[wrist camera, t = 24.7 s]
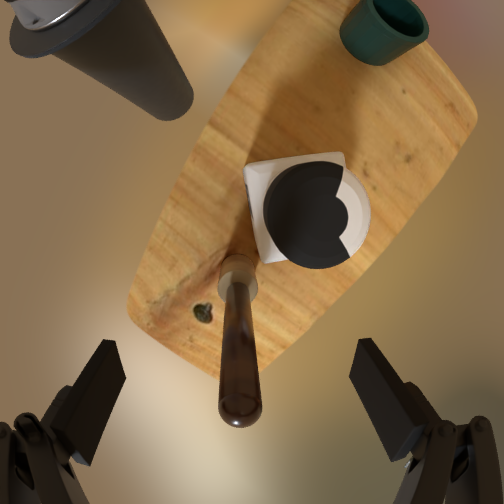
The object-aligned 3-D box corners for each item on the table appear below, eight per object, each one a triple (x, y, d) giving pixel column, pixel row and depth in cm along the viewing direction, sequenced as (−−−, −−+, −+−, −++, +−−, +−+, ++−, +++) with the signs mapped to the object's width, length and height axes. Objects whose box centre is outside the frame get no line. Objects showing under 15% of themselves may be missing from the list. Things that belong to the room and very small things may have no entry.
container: (255, 241, 29) (269, 294, 16) (241, 167, 27) (246, 159, 14) (327, 229, 29) (387, 268, 16) (316, 156, 27) (377, 145, 14)
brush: (214, 264, 29) (181, 412, 10) (243, 247, 29) (257, 384, 10) (231, 291, 30) (227, 451, 11) (260, 276, 30) (295, 428, 10)
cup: (327, 23, 22) (351, -12, 14) (372, 14, 22) (401, -15, 14) (361, 72, 24) (396, 47, 16) (403, 59, 23) (440, 39, 16)
